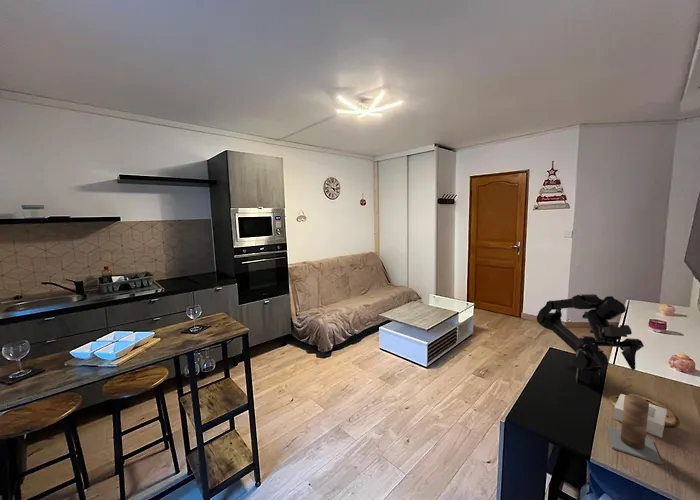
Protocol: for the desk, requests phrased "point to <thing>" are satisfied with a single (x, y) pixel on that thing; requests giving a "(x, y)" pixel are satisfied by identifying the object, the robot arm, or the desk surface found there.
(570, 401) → the desk surface
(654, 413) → the frame
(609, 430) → the pad
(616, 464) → the desk surface
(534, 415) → the desk surface
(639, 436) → the peg
